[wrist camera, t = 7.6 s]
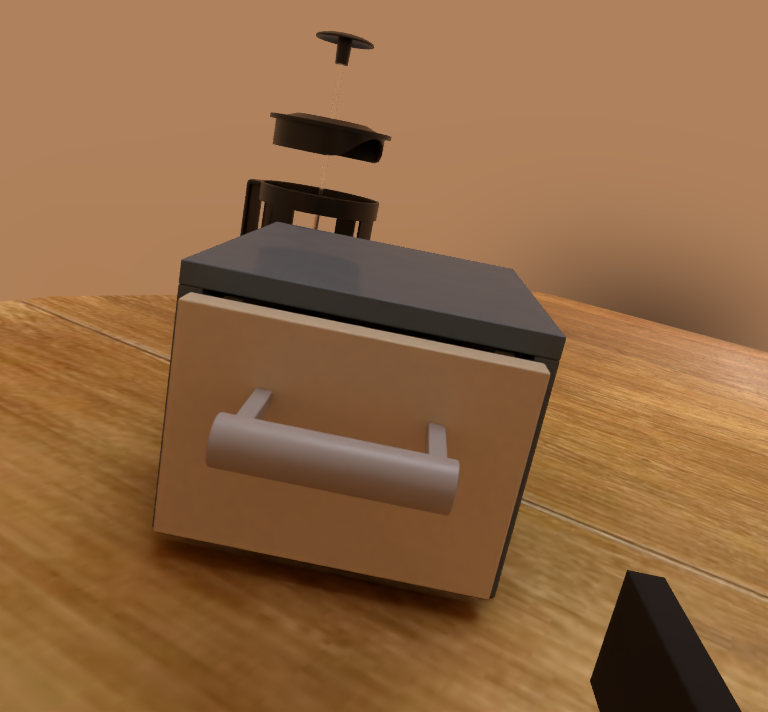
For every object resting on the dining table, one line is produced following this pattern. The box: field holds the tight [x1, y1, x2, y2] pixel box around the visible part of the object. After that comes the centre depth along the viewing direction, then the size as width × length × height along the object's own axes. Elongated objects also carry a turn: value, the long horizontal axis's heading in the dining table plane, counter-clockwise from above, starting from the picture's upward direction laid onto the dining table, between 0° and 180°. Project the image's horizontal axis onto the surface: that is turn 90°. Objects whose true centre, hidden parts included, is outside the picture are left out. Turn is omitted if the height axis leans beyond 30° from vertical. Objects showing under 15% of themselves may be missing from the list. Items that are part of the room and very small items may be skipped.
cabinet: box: [152, 222, 566, 597], centre depth 33 cm, size 16×14×11 cm
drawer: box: [153, 292, 550, 599], centre depth 29 cm, size 19×13×9 cm, turn 179°
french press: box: [240, 31, 391, 240], centre depth 52 cm, size 12×9×23 cm
